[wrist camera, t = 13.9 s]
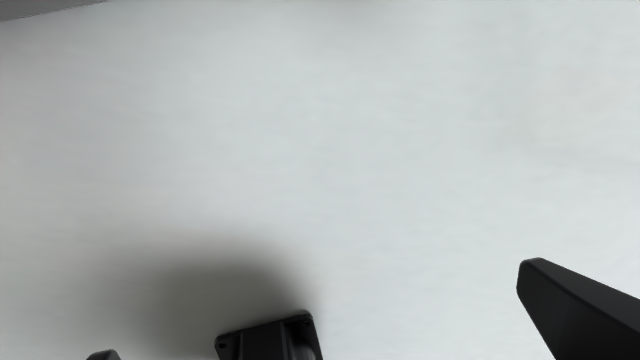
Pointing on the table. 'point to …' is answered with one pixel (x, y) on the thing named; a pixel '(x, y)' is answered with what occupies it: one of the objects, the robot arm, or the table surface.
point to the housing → (38, 7)
